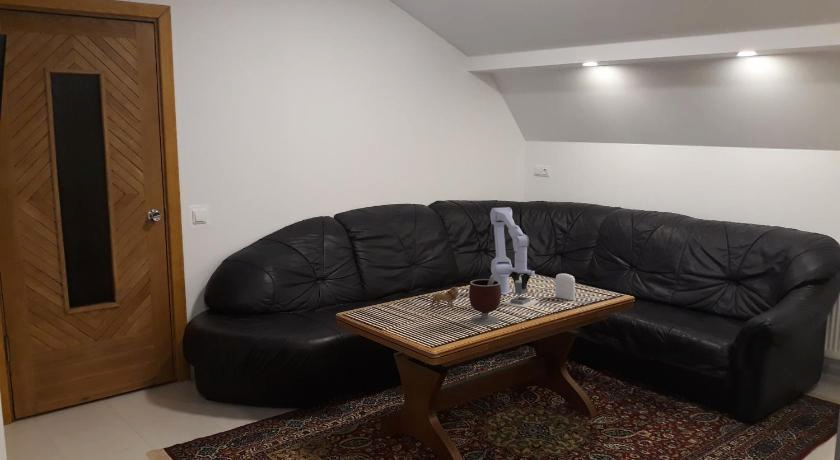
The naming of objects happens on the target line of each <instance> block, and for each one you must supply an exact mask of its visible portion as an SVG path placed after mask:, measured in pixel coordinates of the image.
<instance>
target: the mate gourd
mask: <svg viewBox="0 0 840 460" xmlns="http://www.w3.org/2000/svg"><path fill="white" fill-rule="evenodd" d="M492 275H493V274H492ZM496 275H497V273H495V274H494V275H493V276H492V277H491V276H490V277H491V278H490V277H489V279H486V278H483V279H474V280H471V281H470V282H469V283H470V284H469V289H468V298H469V303H470V306H471V307H472V308H473V310H475V311H477V312H479V313H481V314H480V315H476V316H473V317H471V318H470V321H471V323H473V324H477V325H483V326H484V325H486V326H487V325H488V326H489V325H495V324H498V323H499V322H500V318H499V317H497V316H493V315H489V313H491V312H494V311H496V310H497V308H498V307H499V306H500V305H501V298H502V294H501V287H500V282H499V281H496V280H494V279H495V277H496Z"/></svg>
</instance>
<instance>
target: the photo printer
mask: <svg viewBox="0 0 840 460" xmlns="http://www.w3.org/2000/svg"><path fill="white" fill-rule="evenodd" d="M555 298H559V299H563V300H568V301H574V300H575V299H576V279H575V276H573V275H572V274H568V273H558V274H556V276H555Z"/></svg>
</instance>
